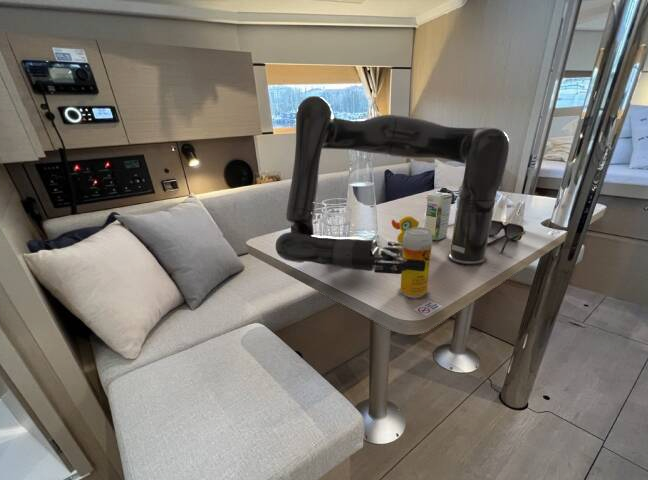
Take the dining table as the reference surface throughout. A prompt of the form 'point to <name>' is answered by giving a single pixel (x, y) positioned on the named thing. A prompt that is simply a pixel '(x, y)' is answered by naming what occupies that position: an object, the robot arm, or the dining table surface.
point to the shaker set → (501, 211)
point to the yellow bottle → (416, 248)
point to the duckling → (404, 226)
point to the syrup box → (438, 214)
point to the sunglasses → (507, 231)
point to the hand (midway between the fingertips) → (426, 260)
